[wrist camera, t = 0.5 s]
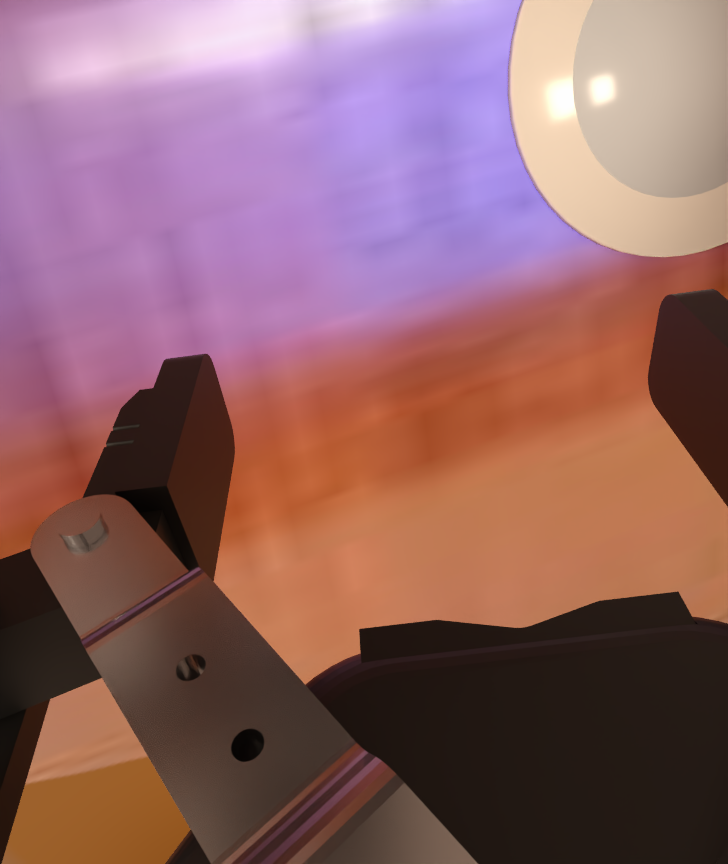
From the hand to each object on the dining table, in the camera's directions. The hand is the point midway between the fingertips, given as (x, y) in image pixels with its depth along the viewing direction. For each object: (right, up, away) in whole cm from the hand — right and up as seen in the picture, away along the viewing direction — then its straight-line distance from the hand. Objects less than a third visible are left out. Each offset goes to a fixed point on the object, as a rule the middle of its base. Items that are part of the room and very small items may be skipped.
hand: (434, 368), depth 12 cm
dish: (+15, +17, +21) cm, 31 cm away
